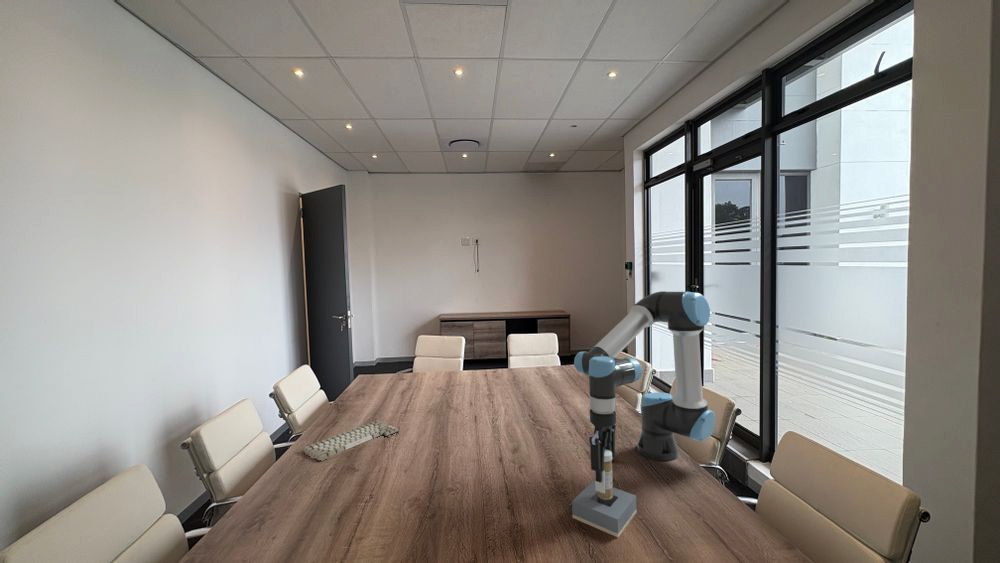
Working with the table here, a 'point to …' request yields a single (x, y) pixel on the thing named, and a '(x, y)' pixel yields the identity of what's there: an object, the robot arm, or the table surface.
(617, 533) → the socket block
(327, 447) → the mechanical keyboard
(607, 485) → the sprinkles bottle
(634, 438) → the table surface
